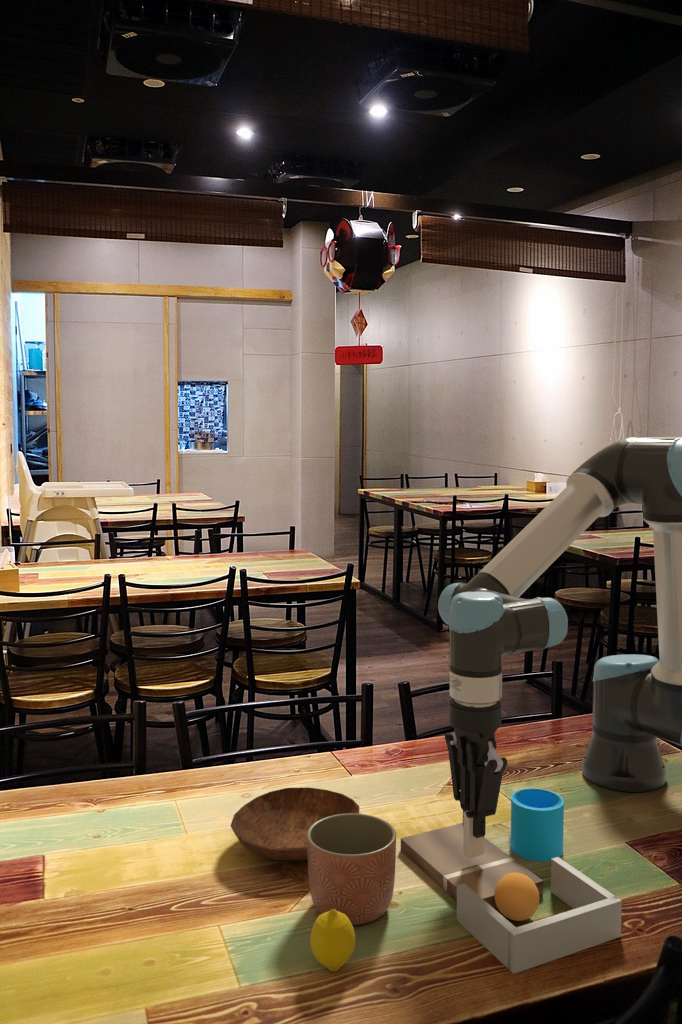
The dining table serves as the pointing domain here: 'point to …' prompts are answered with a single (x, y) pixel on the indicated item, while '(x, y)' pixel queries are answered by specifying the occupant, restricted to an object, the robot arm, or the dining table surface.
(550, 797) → the mug
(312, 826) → the planter
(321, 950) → the fruit
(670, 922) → the dining table surface
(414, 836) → the board
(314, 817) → the bowl
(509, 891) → the ball
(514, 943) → the grey frame
